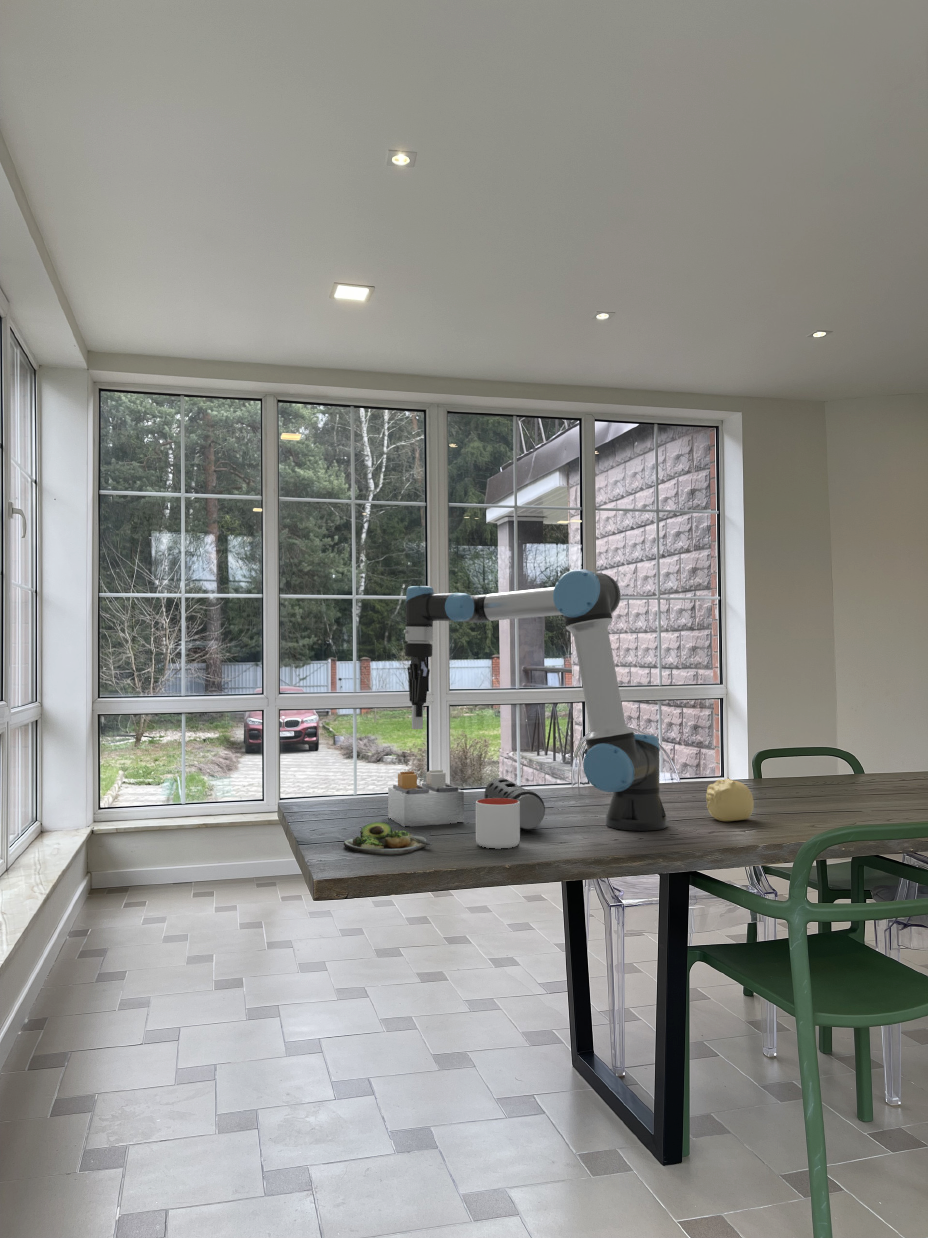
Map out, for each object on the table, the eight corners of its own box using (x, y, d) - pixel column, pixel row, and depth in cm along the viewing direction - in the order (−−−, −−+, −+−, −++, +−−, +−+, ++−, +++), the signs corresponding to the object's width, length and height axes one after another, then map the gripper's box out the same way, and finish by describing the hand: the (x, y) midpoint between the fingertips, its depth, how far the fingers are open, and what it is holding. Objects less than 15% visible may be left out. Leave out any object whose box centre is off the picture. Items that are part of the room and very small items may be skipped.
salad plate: (449, 845, 212) (449, 825, 212) (407, 861, 196) (407, 839, 196) (378, 837, 221) (378, 817, 221) (333, 851, 205) (333, 830, 205)
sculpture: (701, 816, 247) (701, 775, 247) (746, 816, 247) (746, 775, 247) (711, 824, 236) (711, 781, 236) (759, 824, 235) (758, 781, 235)
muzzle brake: (517, 815, 250) (517, 776, 250) (548, 835, 222) (547, 791, 223) (483, 816, 248) (483, 777, 248) (509, 836, 220) (509, 793, 221)
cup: (476, 841, 215) (476, 797, 215) (519, 841, 214) (519, 798, 215) (475, 850, 205) (475, 804, 205) (520, 850, 204) (520, 805, 205)
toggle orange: (416, 788, 242) (416, 772, 242) (402, 788, 240) (402, 773, 240) (412, 786, 245) (412, 770, 245) (397, 786, 244) (397, 771, 244)
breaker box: (463, 822, 238) (463, 787, 238) (404, 827, 232) (404, 790, 232) (444, 813, 251) (444, 780, 251) (388, 817, 245) (388, 783, 245)
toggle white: (445, 786, 245) (445, 770, 245) (431, 787, 243) (431, 771, 243) (440, 784, 248) (440, 769, 248) (426, 785, 247) (426, 769, 247)
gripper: (399, 642, 258) (397, 726, 257) (412, 642, 246) (410, 731, 245) (424, 642, 261) (423, 726, 260) (439, 643, 248) (437, 730, 248)
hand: (417, 728), depth 253 cm, fingers closed
